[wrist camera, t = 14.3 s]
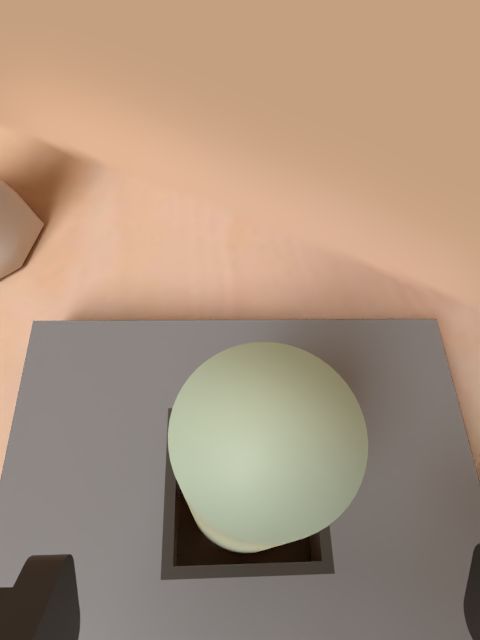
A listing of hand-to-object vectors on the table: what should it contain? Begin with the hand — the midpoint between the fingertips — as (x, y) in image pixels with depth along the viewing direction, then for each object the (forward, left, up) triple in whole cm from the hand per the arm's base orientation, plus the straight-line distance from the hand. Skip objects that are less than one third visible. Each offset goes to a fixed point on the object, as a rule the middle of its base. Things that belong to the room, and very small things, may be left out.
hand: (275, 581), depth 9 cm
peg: (0, -3, -10) cm, 10 cm away
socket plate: (0, -3, -9) cm, 10 cm away
